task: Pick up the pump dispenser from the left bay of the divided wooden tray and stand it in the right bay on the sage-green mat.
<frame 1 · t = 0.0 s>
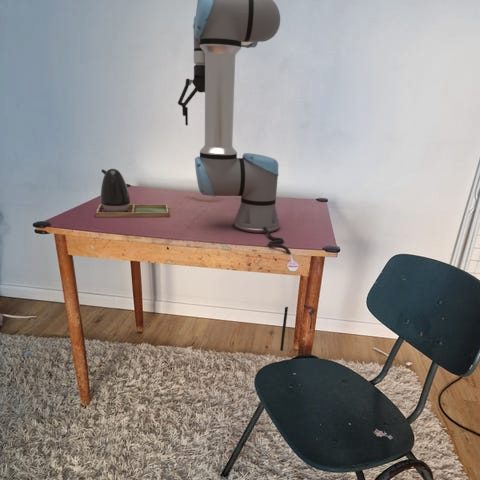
hand: (203, 125, 171), 28 cm above the table, tool pointing down, fingers open, 13 cm apart
pump dispenser: (116, 212, 153), resting in divided wooden tray
divided wooden tray: (133, 212, 154), on the table
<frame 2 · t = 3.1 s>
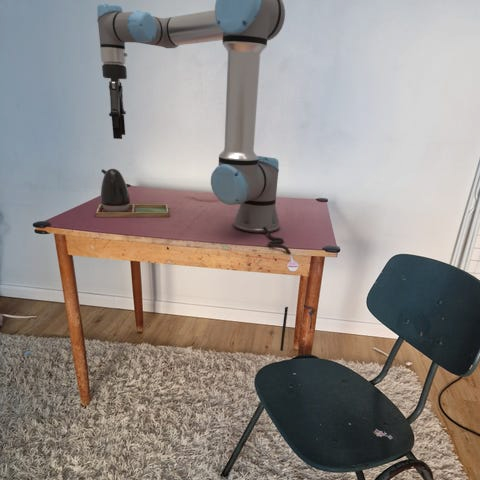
hand: (119, 136, 144), 25 cm above the table, tool pointing down, fingers open, 13 cm apart
nothing on the table moved.
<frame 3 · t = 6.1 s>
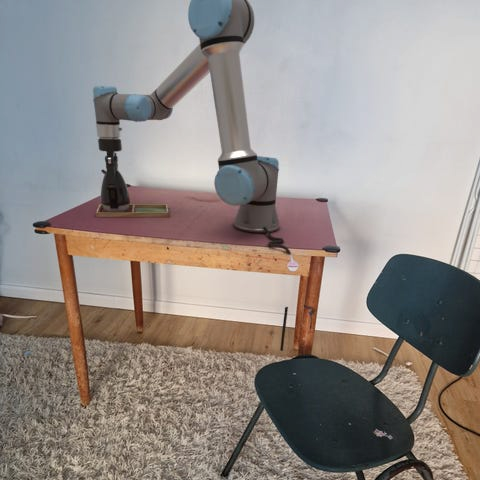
hand: (115, 204, 151), 3 cm above the table, tool pointing down, fingers closed on pump dispenser, 10 cm apart
pump dispenser: (116, 212, 153), resting in divided wooden tray, touching gripper
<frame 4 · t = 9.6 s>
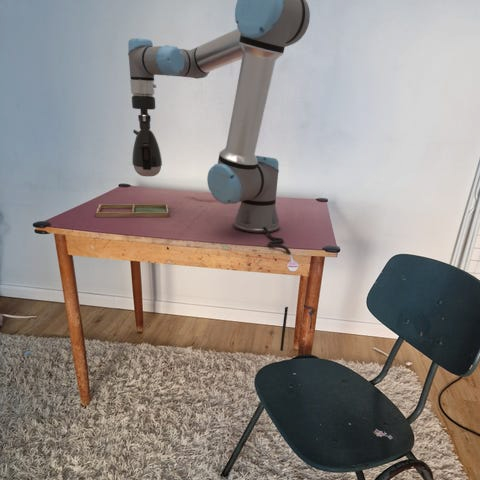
hand: (147, 167, 147), 16 cm above the table, tool pointing down, fingers closed on pump dispenser, 10 cm apart
pump dispenser: (147, 175, 149), point 13 cm above the table, touching gripper
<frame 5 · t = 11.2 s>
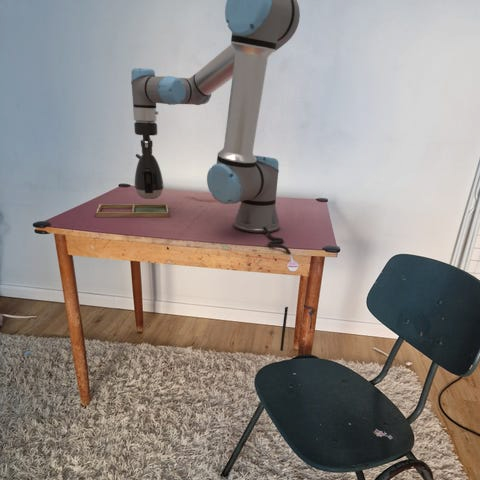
hand: (149, 189, 151), 8 cm above the table, tool pointing down, fingers closed on pump dispenser, 10 cm apart
pump dispenser: (149, 198, 153), point 5 cm above the table, touching gripper
when the fingers open (3 cm above the table, at t = 13.0 s): pump dispenser stays where it is, resting on divided wooden tray.
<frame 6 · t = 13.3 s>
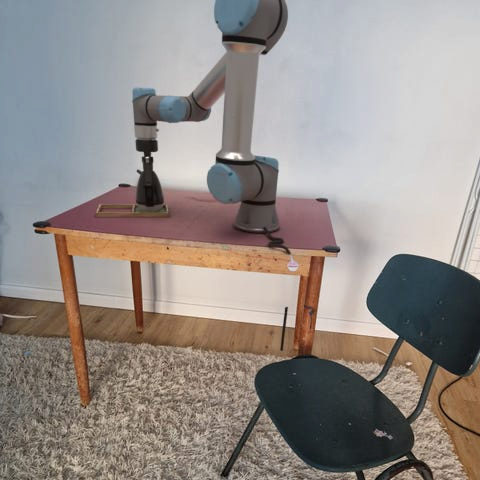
hand: (150, 202, 153), 4 cm above the table, tool pointing down, fingers open, 13 cm apart
pump dispenser: (150, 212, 155), resting on divided wooden tray
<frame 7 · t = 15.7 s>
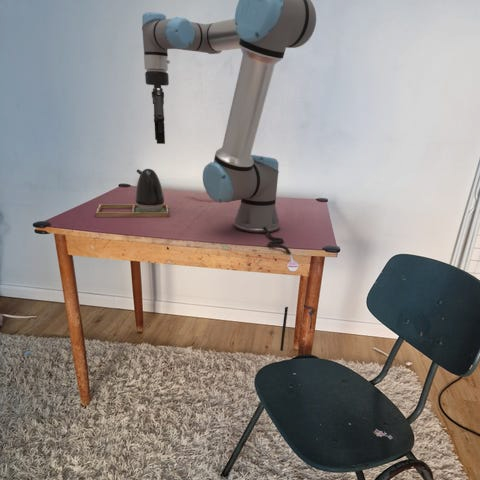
hand: (160, 141, 147), 24 cm above the table, tool pointing down, fingers open, 13 cm apart
nothing on the table moved.
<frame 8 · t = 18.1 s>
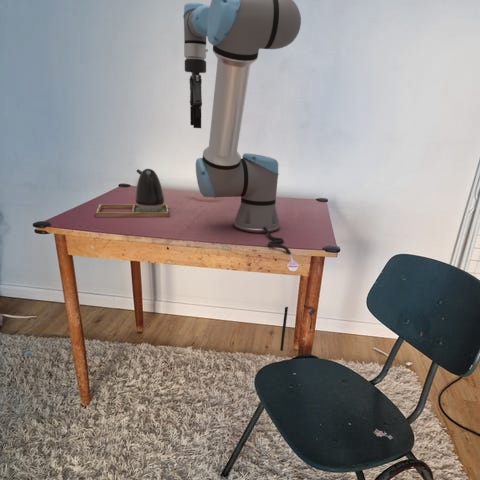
hand: (195, 126, 155), 29 cm above the table, tool pointing down, fingers open, 13 cm apart
nothing on the table moved.
at the end: pump dispenser inside the target area on the divided wooden tray (0.1 cm from its centre), point 0.0 cm above the divided wooden tray's base; pump dispenser tilted 0° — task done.
